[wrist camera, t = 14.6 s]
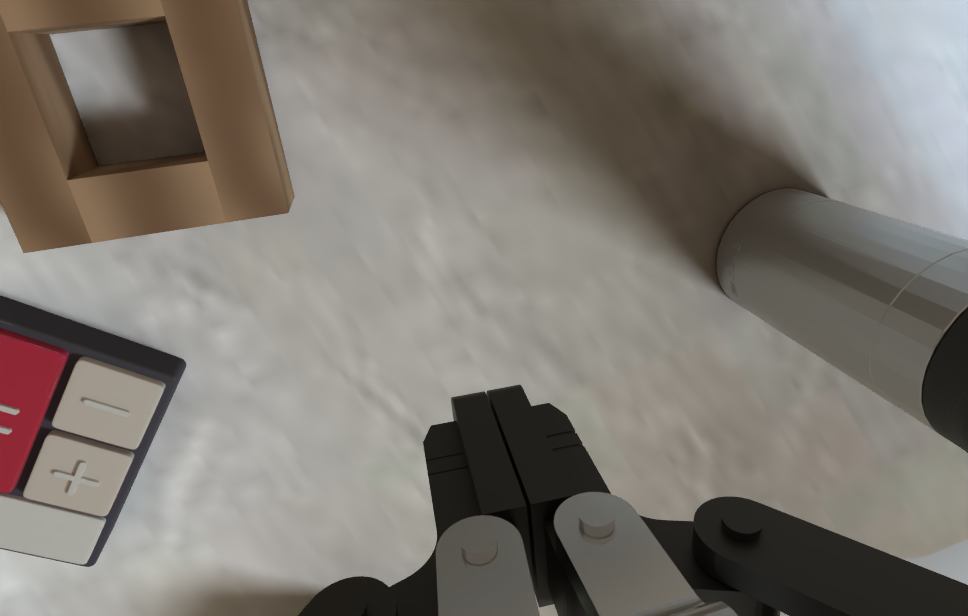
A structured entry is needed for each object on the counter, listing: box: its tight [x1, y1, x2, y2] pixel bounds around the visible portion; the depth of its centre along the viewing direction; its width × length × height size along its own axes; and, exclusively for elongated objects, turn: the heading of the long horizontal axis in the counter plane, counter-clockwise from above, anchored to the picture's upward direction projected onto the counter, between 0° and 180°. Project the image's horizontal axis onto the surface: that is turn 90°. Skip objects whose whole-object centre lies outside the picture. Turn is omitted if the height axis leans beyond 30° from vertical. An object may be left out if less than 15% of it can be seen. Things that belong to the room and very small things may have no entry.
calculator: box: [0, 296, 186, 567], centre depth 36 cm, size 11×4×15 cm
